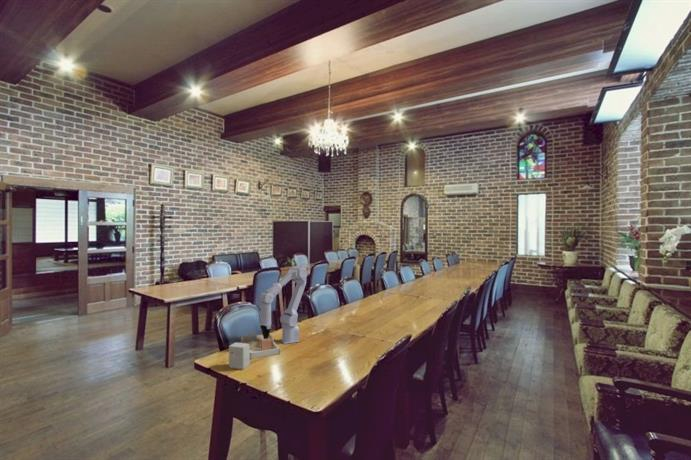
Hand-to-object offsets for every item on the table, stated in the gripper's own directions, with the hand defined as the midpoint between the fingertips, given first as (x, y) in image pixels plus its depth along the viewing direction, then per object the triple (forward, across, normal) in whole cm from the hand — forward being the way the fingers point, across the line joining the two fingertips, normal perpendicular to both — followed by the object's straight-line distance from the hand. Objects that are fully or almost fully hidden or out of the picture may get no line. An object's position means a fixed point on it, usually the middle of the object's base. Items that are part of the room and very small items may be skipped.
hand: (265, 338), depth 185 cm
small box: (+5, +20, -17) cm, 27 cm away
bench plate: (+5, -5, -4) cm, 8 cm away
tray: (+5, +7, -4) cm, 9 cm away
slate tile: (+1, -5, -7) cm, 9 cm away
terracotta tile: (+2, +3, -1) cm, 4 cm away
